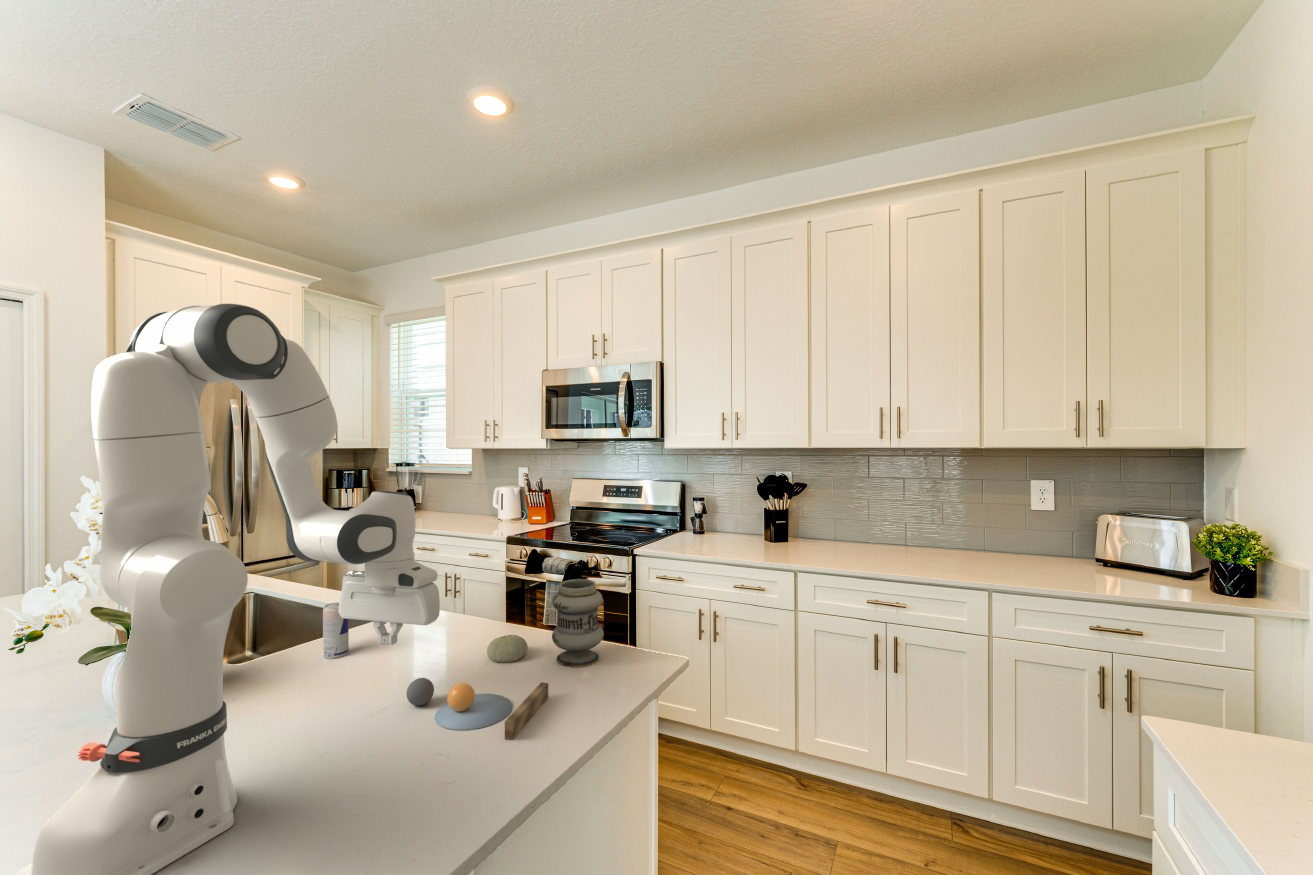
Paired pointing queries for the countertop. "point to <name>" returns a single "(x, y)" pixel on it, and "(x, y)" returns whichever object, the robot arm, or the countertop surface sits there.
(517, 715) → the wall
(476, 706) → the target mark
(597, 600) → the apothecary jar
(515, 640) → the sea urchin shell
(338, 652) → the energy drink
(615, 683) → the countertop surface
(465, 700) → the object ball
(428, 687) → the gray ball
